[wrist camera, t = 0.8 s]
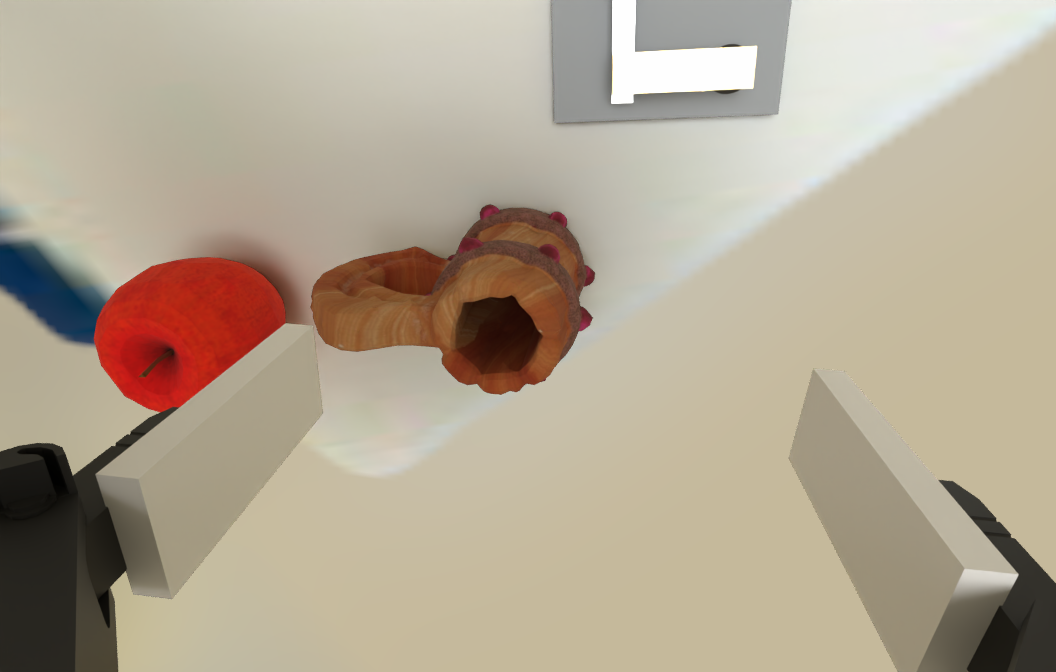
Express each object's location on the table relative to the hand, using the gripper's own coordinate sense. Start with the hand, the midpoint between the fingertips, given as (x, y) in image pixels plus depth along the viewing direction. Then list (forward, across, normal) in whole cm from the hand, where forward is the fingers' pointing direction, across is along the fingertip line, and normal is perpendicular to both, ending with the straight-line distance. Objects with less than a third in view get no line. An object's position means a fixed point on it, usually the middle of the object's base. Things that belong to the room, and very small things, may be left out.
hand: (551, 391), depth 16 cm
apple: (+25, -24, -9) cm, 36 cm away
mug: (+25, -6, -4) cm, 26 cm away
